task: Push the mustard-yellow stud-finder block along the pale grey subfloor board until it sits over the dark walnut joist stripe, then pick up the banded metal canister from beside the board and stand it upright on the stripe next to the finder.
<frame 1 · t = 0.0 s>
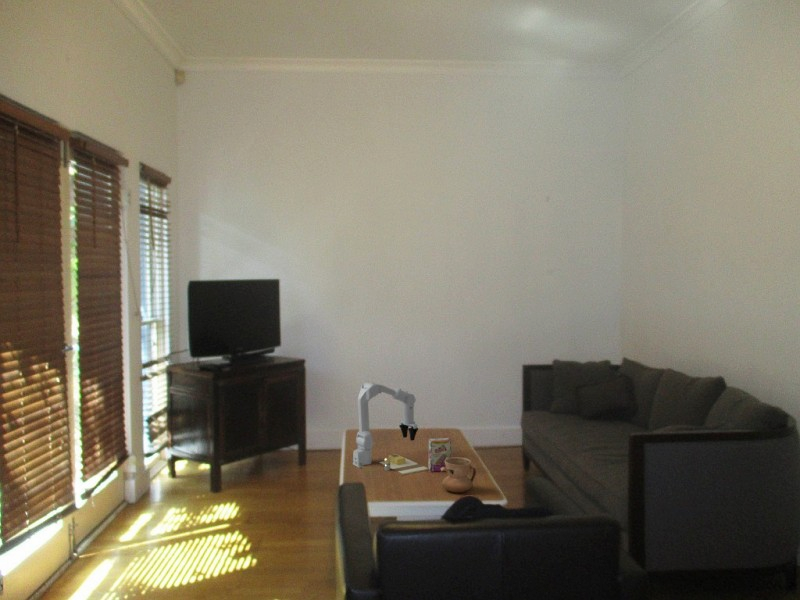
hand: (408, 438, 378), 10 cm above the table, fingers open, 7 cm apart
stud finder: (396, 462, 364), point 1 cm above the table, touching subfloor board
subfloor board: (403, 467, 359), on the table
banded metal canister: (387, 471, 351), on the table
ceramic jug: (458, 490, 322), on the table
candy bar box: (439, 470, 353), on the table
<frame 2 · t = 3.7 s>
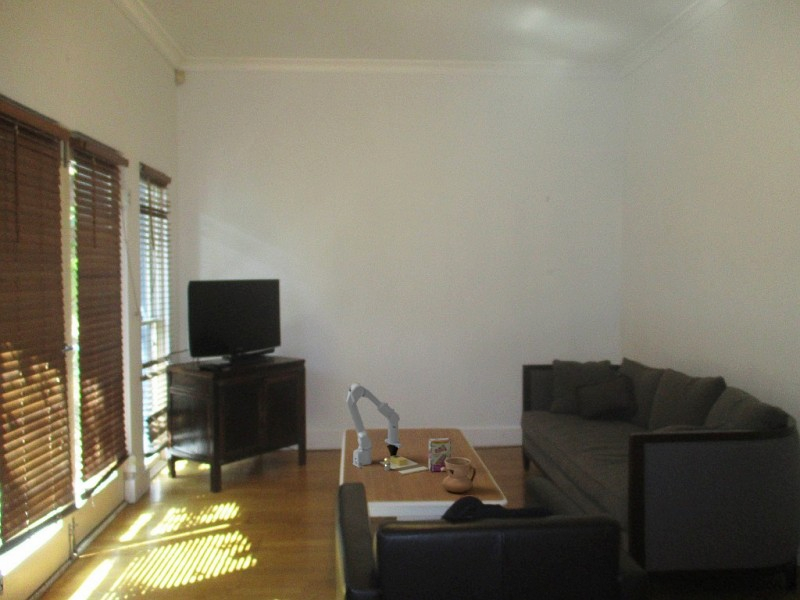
hand: (393, 458, 368), 2 cm above the table, fingers closed
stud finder: (398, 463, 363), point 1 cm above the table
everything else where it was.
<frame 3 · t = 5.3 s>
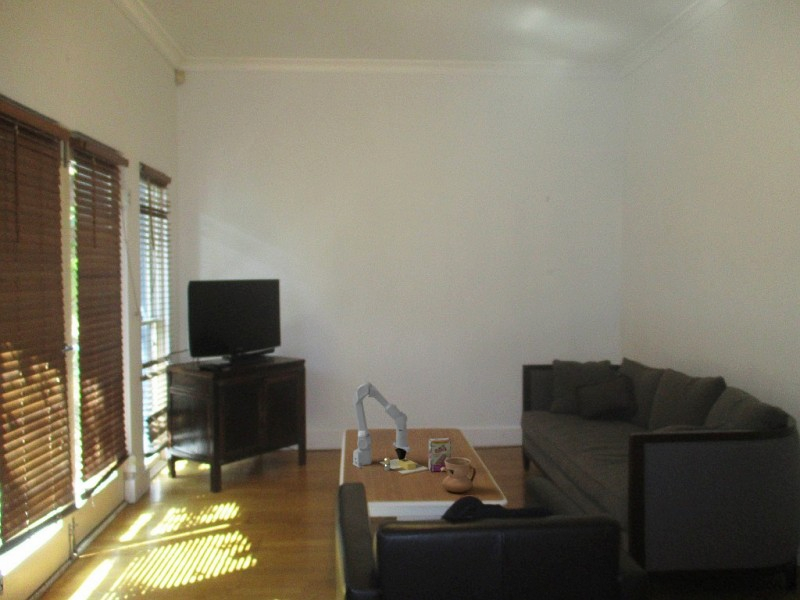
hand: (401, 462, 360), 2 cm above the table, fingers closed
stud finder: (407, 467, 356), point 1 cm above the table, touching gripper, subfloor board
everything else where it was.
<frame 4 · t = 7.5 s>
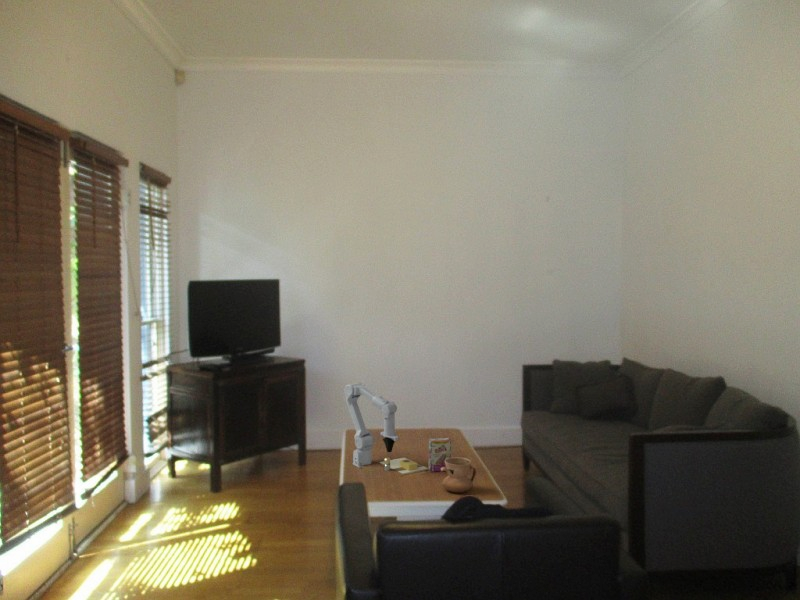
hand: (389, 451, 353), 10 cm above the table, fingers closed
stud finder: (408, 467, 354), point 1 cm above the table, touching subfloor board
everything else where it was.
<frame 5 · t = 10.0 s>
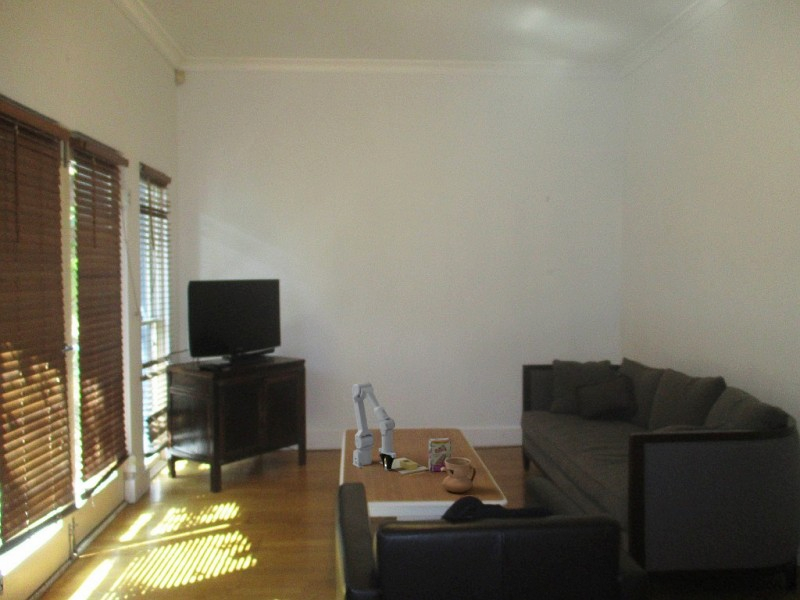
hand: (387, 468, 351), 2 cm above the table, fingers closed on banded metal canister, 3 cm apart
banded metal canister: (387, 471, 351), on the table, touching gripper
everything else where it was.
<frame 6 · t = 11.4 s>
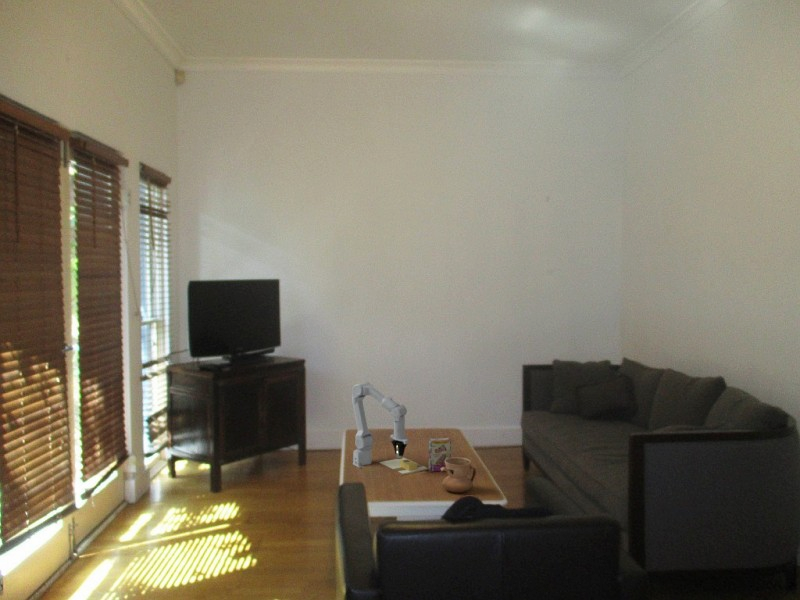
hand: (399, 454, 351), 9 cm above the table, fingers closed on banded metal canister, 3 cm apart
banded metal canister: (399, 458, 351), point 7 cm above the table, touching gripper
everything else where it was.
when the fingers open (4 cm above the table, at t = 12.8 s): banded metal canister stays where it is, resting on subfloor board.
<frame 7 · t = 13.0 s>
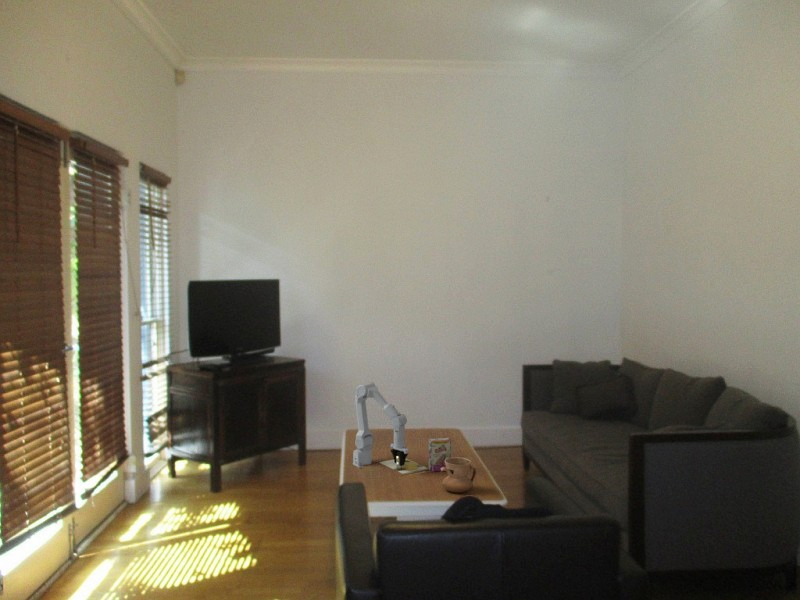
hand: (399, 464, 352), 4 cm above the table, fingers open, 5 cm apart
banded metal canister: (399, 469, 352), point 1 cm above the table, touching subfloor board
everything else where it was.
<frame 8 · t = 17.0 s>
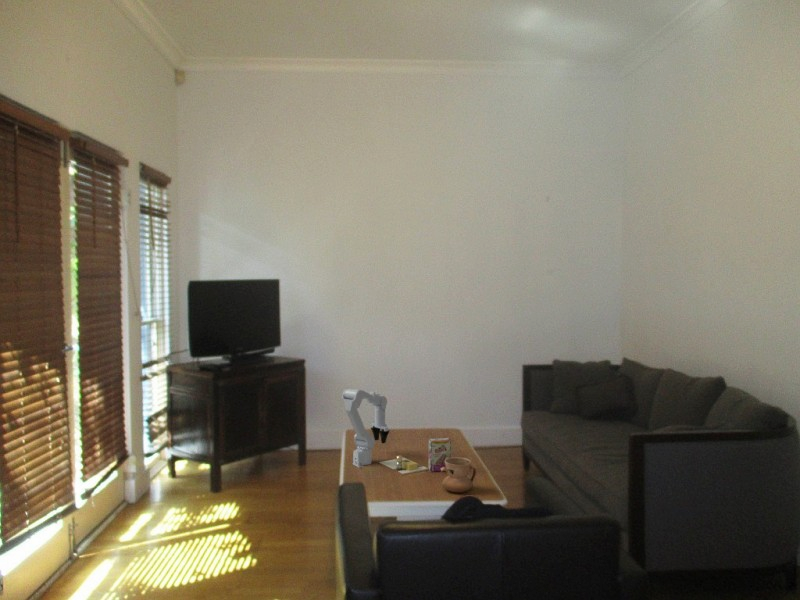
hand: (380, 441, 375), 9 cm above the table, fingers open, 7 cm apart
nothing on the table moved.
at the end: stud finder 0.1 cm from the target spot, point 1.0 cm above the table; banded metal canister 0.0 cm from the target spot, point 1.0 cm above the table; banded metal canister tilted 1° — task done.
